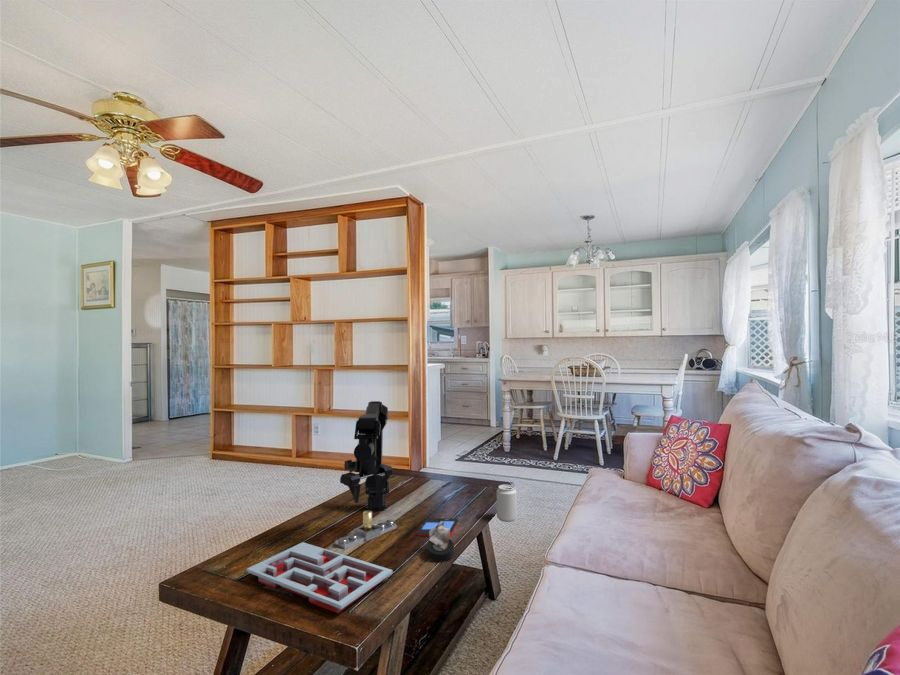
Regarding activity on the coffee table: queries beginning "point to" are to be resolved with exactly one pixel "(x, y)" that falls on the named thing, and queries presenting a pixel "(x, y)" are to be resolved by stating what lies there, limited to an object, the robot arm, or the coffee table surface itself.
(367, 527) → the link pin
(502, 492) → the can
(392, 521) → the studded bracket plate
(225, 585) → the coffee table surface
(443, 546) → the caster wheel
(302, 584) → the maze game
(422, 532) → the game console
